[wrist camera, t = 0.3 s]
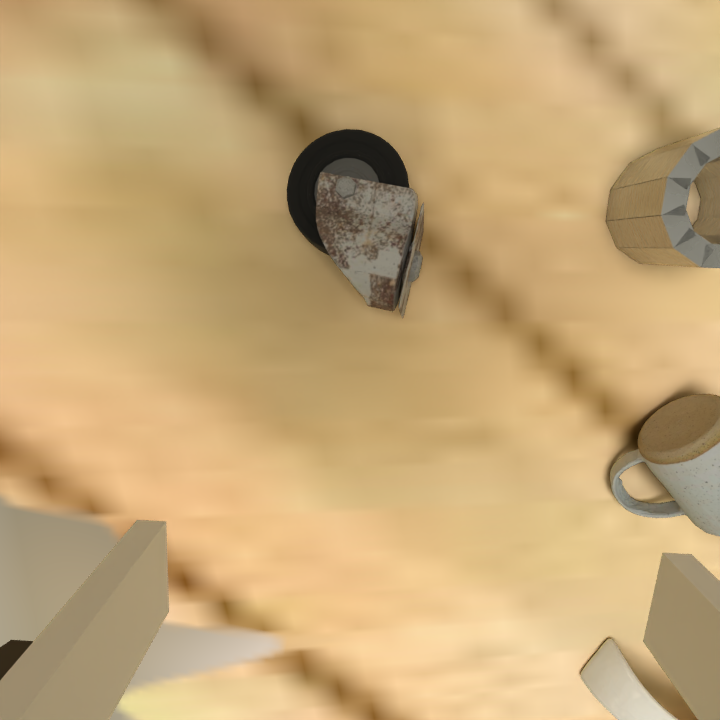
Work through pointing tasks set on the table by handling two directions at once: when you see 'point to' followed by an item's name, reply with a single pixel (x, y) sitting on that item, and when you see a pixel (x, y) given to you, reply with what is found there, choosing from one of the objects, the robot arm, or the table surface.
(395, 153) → the caster wheel
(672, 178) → the tube
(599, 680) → the spoon rest
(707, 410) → the ceramic mug
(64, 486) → the table surface
